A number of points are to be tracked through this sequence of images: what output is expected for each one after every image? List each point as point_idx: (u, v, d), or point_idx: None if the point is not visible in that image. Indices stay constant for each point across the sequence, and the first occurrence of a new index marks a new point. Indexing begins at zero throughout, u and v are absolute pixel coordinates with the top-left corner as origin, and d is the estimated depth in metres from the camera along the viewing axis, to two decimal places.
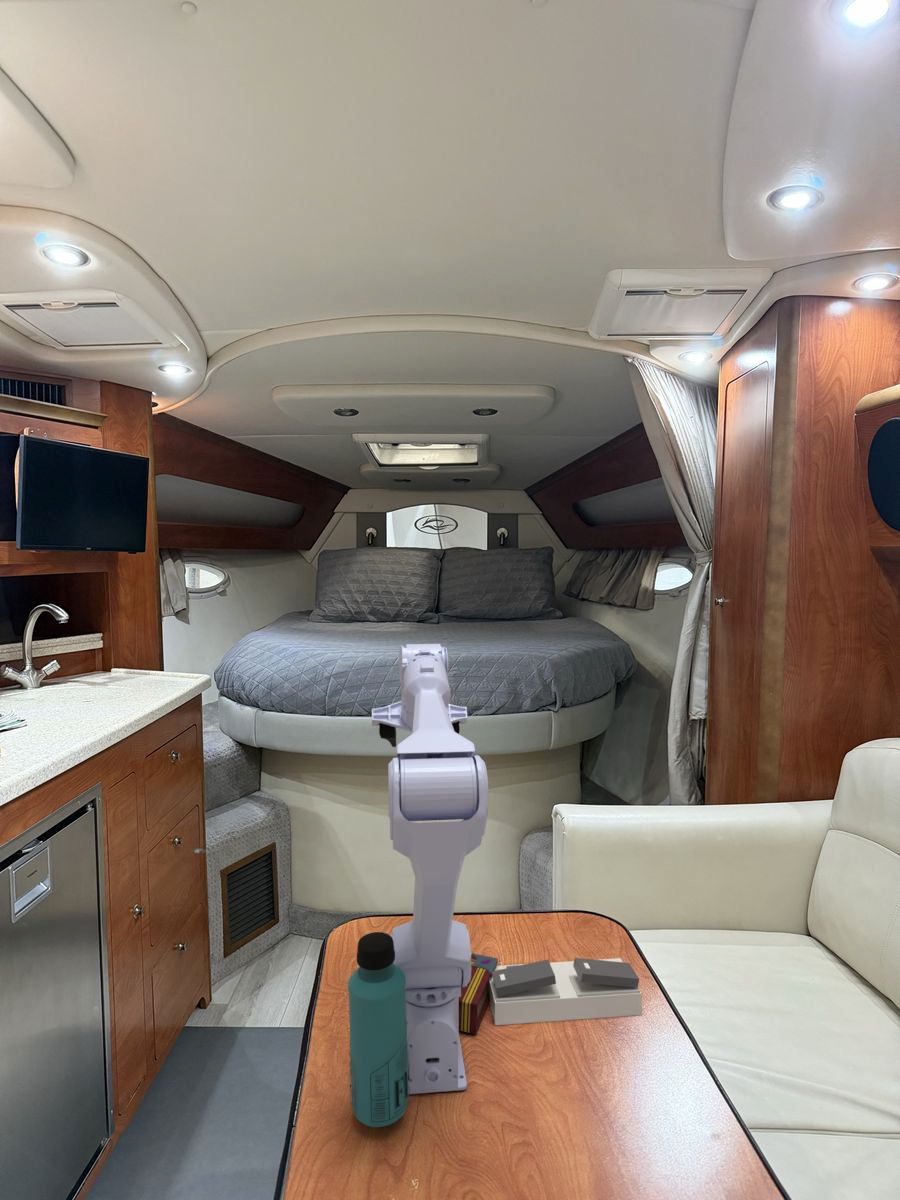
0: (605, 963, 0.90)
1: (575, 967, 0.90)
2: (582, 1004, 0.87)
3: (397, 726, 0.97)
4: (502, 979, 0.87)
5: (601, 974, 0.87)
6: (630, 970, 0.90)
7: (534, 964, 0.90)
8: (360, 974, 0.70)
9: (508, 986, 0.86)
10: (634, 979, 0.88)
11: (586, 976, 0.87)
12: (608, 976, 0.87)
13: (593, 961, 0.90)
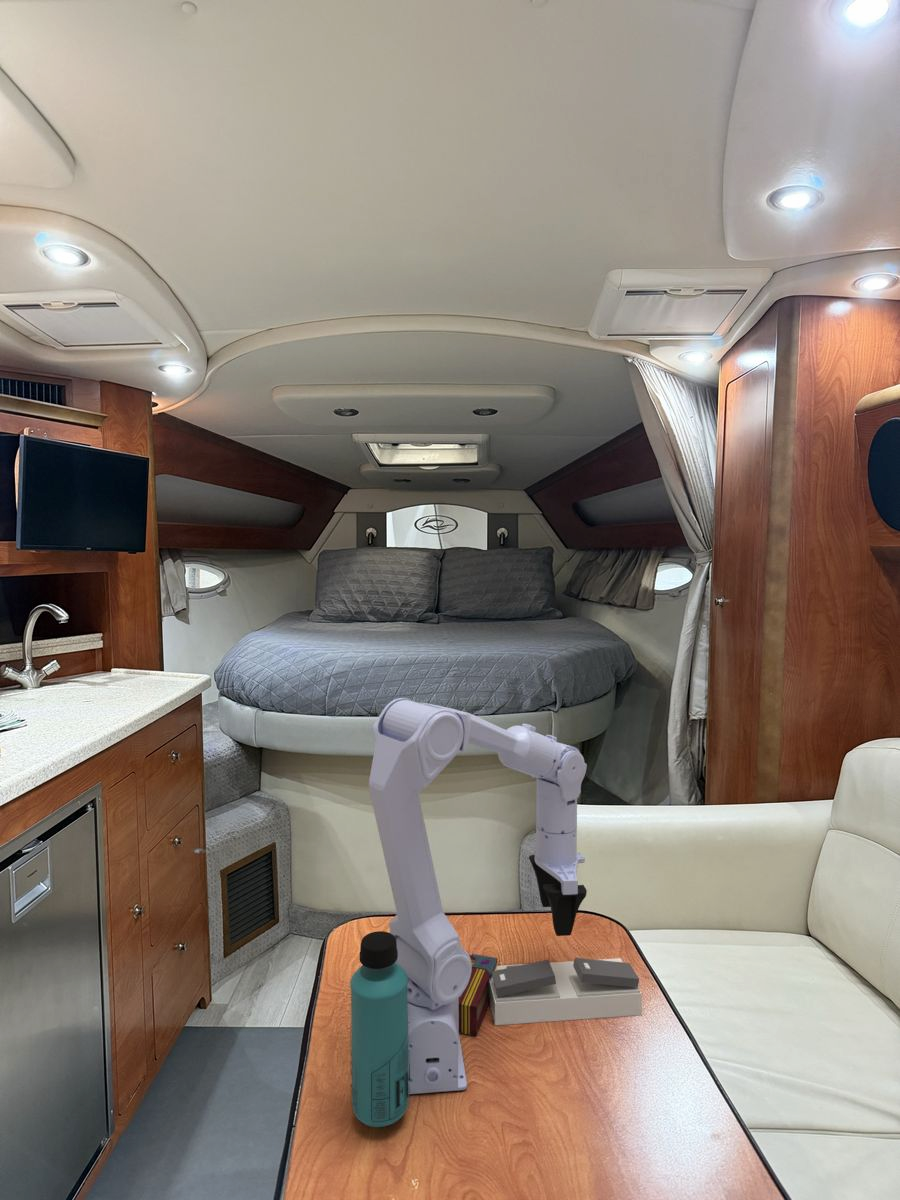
0: (605, 963, 0.90)
1: (575, 967, 0.90)
2: (582, 1004, 0.87)
3: None
4: (502, 979, 0.87)
5: (601, 974, 0.87)
6: (630, 970, 0.90)
7: (534, 964, 0.90)
8: (363, 973, 0.70)
9: (508, 986, 0.86)
10: (634, 979, 0.88)
11: (586, 976, 0.87)
12: (608, 976, 0.87)
13: (593, 961, 0.90)
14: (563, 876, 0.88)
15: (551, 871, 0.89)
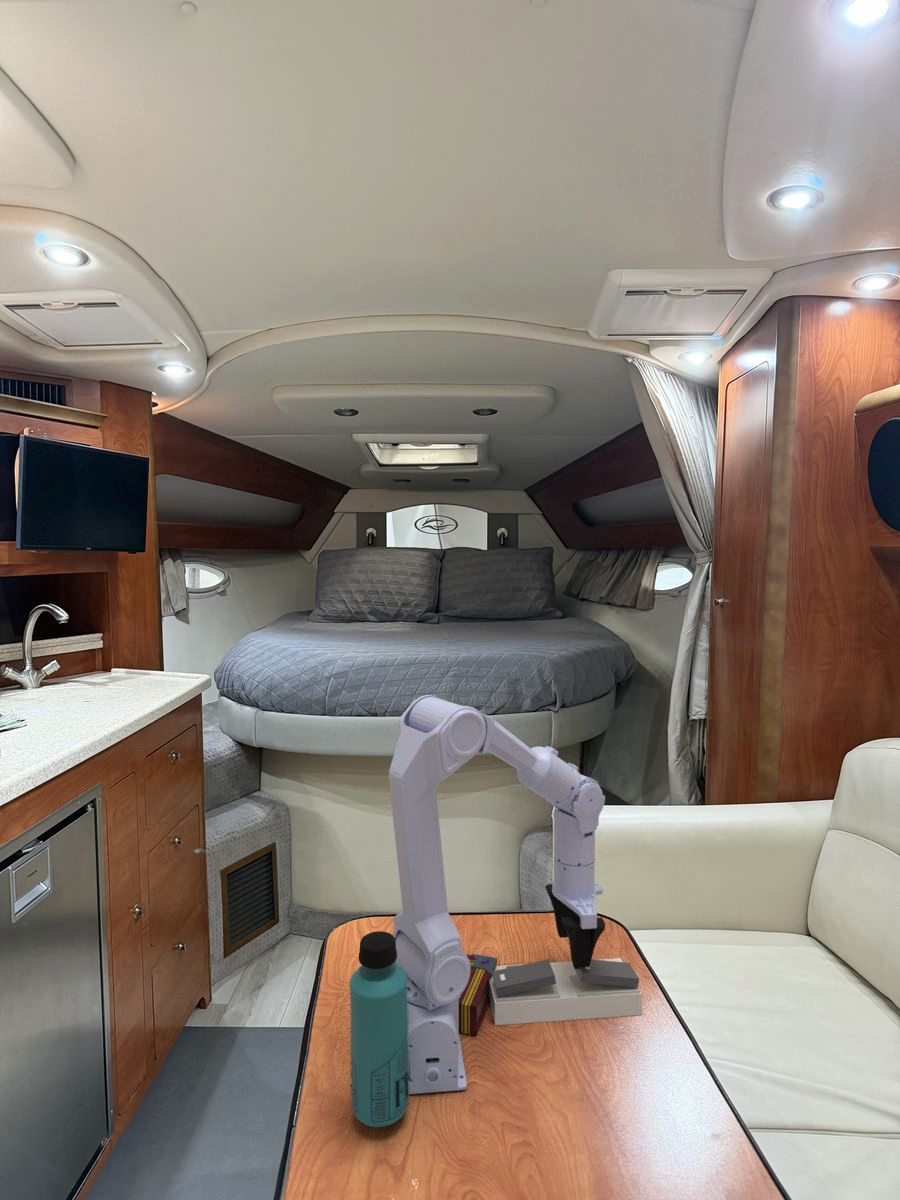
0: (605, 962, 0.90)
1: None
2: (582, 1004, 0.87)
3: (553, 879, 0.95)
4: (502, 979, 0.87)
5: (601, 974, 0.87)
6: (630, 970, 0.90)
7: (534, 964, 0.90)
8: (362, 973, 0.70)
9: (508, 986, 0.86)
10: (634, 979, 0.88)
11: (586, 976, 0.87)
12: (608, 976, 0.87)
13: (593, 961, 0.90)
14: (582, 909, 0.87)
15: (569, 904, 0.88)
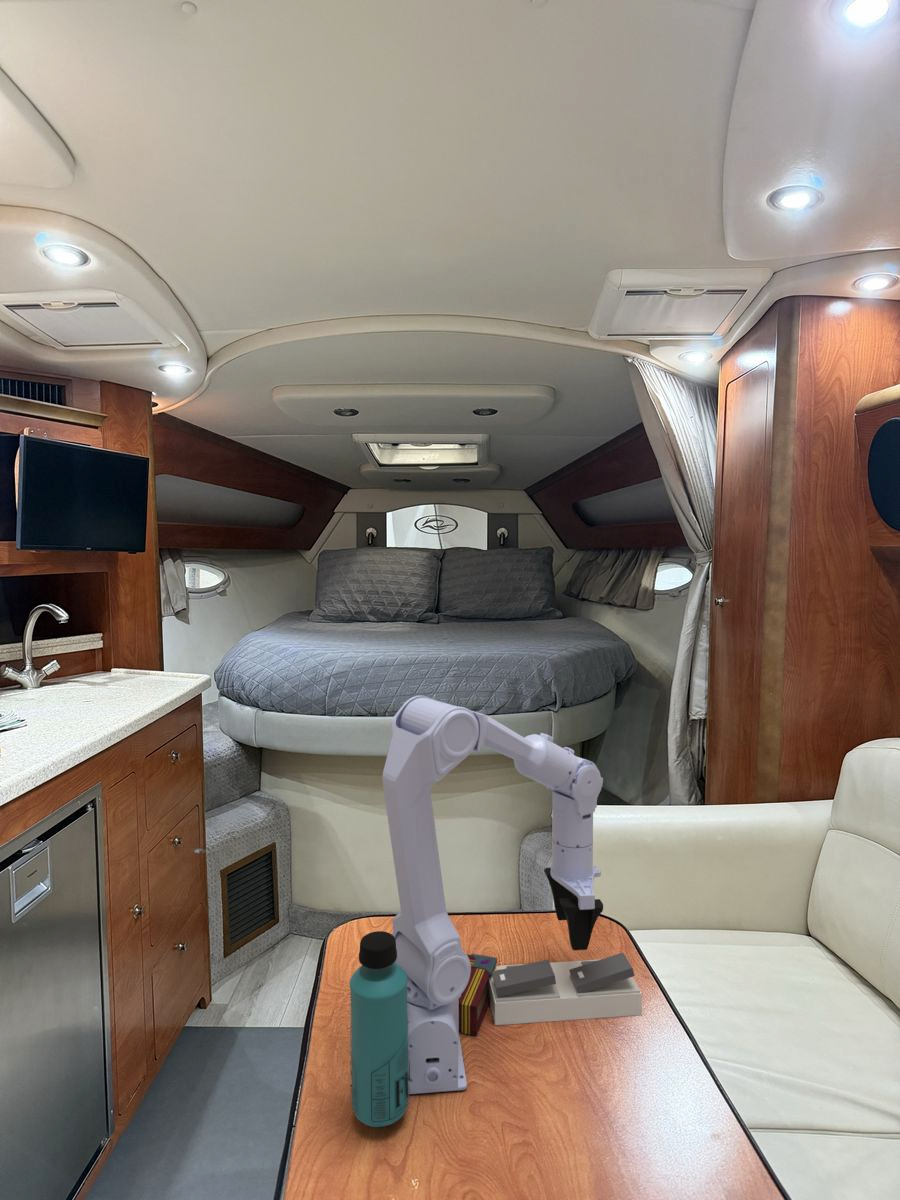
0: (599, 962, 0.90)
1: (572, 979, 0.90)
2: (582, 1004, 0.87)
3: None
4: (502, 979, 0.87)
5: (595, 979, 0.87)
6: (623, 961, 0.89)
7: (534, 964, 0.90)
8: (362, 973, 0.70)
9: (508, 986, 0.86)
10: (628, 970, 0.88)
11: (581, 987, 0.87)
12: (602, 978, 0.87)
13: (587, 966, 0.90)
14: (580, 890, 0.87)
15: (567, 885, 0.88)
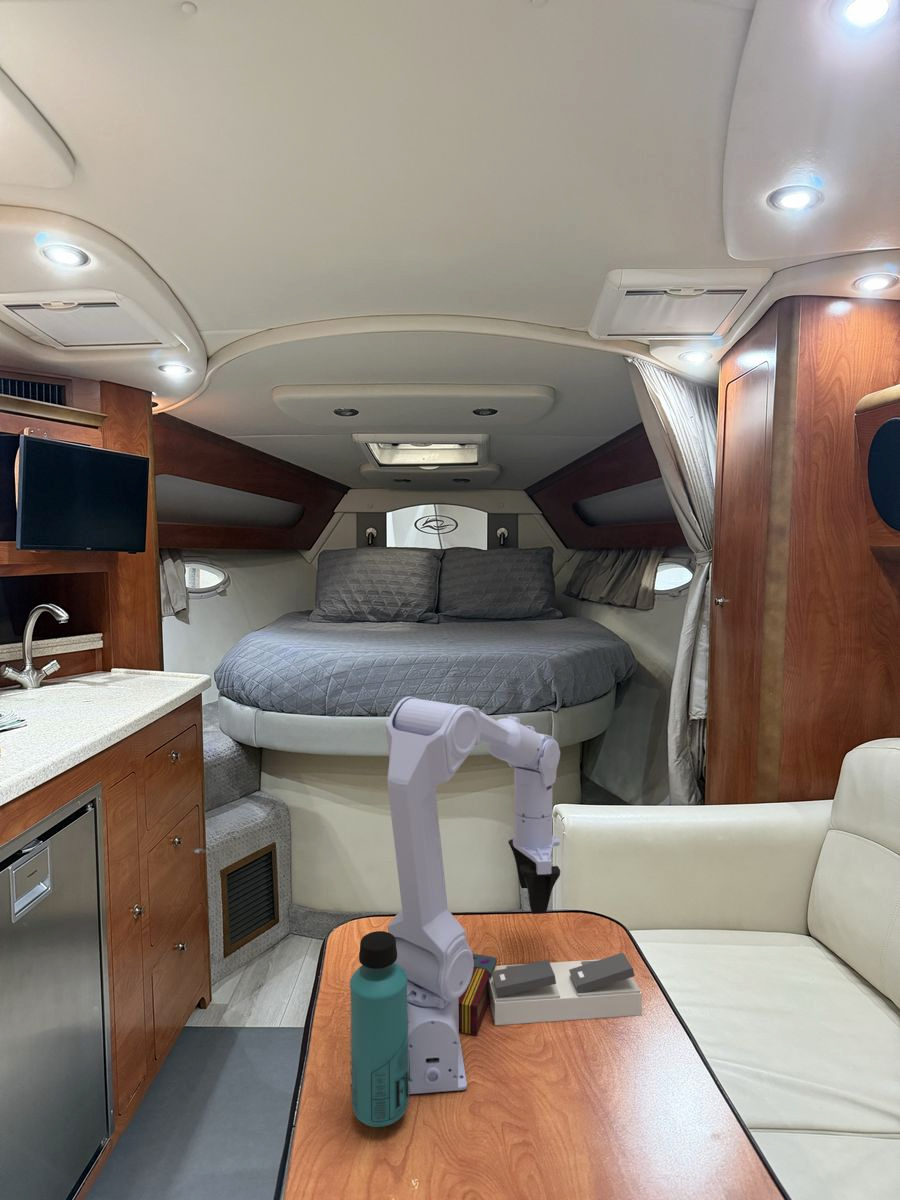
0: (599, 962, 0.90)
1: (572, 979, 0.90)
2: (582, 1004, 0.87)
3: None
4: (502, 979, 0.87)
5: (595, 979, 0.87)
6: (624, 961, 0.89)
7: (534, 964, 0.90)
8: (362, 973, 0.70)
9: (508, 986, 0.86)
10: (628, 970, 0.88)
11: (581, 987, 0.87)
12: (602, 978, 0.87)
13: (587, 966, 0.90)
14: (538, 857, 0.93)
15: (527, 853, 0.94)
